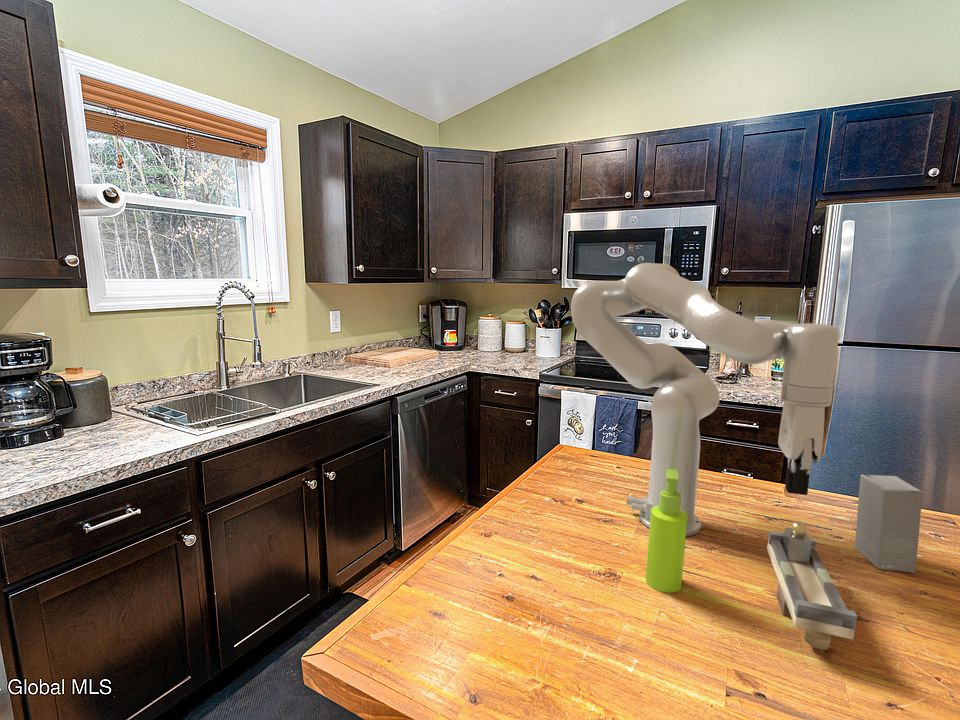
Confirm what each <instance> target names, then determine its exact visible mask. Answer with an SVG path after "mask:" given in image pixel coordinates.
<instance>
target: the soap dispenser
mask: <svg viewBox="0 0 960 720" xmlns="http://www.w3.org/2000/svg"><path fill="white" fill-rule="evenodd" d="M678 481H679V478H678V470H676V469H668V468H666V489H664V490H662V491H661V492H660V501H659V505H658V506H654V507H653V508H652V509H651V517H650V528H649V531H648V544H647V545H648V546H647V554H646V555H647V557H646V567H645V568H646V570H645V571H646V572H645V581H646V583H647V585H649V587H650V588H652V589H654V590H656V591H658V592H661V593H676V592H680V590H681V589H682V583H683V581H682V580H683V570H684V560H685V550H686V549H685V548H686V539H687V538H686V537H687V536H686V529H687V518H688V516H687V514H686V513H685V512H684V511H683V510H681V509H680V506H681V494H680V493H679V492H677V491H676V490H677V483H678Z"/></svg>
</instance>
